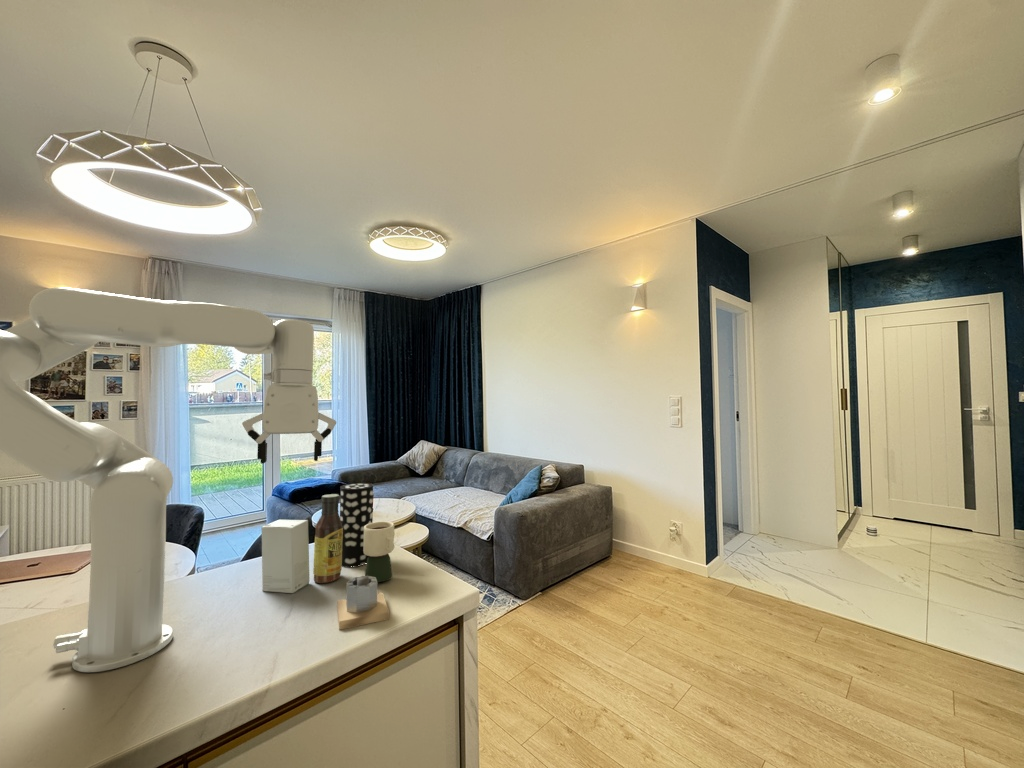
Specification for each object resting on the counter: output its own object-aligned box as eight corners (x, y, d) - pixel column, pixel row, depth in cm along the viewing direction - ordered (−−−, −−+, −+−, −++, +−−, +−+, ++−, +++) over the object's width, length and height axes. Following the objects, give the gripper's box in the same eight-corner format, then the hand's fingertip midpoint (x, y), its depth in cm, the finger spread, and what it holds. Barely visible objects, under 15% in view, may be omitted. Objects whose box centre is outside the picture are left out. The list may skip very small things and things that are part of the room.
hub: (347, 615, 79) (347, 590, 80) (345, 602, 85) (346, 578, 85) (378, 609, 82) (378, 584, 82) (374, 597, 87) (374, 574, 87)
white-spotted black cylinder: (377, 561, 111) (378, 486, 112) (347, 570, 105) (349, 490, 106) (363, 553, 117) (364, 482, 118) (333, 561, 111) (335, 486, 112)
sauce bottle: (330, 585, 96) (332, 499, 97) (307, 583, 97) (309, 498, 98) (347, 574, 102) (349, 493, 103) (324, 572, 103) (326, 492, 104)
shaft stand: (339, 629, 77) (339, 591, 78) (337, 608, 85) (337, 573, 86) (388, 619, 81) (389, 582, 81) (382, 599, 89) (382, 566, 90)
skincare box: (309, 583, 97) (311, 519, 98) (291, 595, 91) (293, 526, 92) (278, 580, 99) (280, 517, 99) (258, 591, 93) (260, 524, 93)
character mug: (404, 581, 98) (405, 526, 99) (378, 592, 93) (379, 533, 93) (378, 569, 105) (379, 518, 106) (352, 579, 100) (353, 524, 100)
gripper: (241, 377, 80) (237, 466, 79) (338, 379, 87) (336, 461, 86) (247, 379, 87) (244, 461, 86) (336, 381, 94) (334, 457, 93)
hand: (290, 461), depth 86 cm, fingers open, 9 cm apart
